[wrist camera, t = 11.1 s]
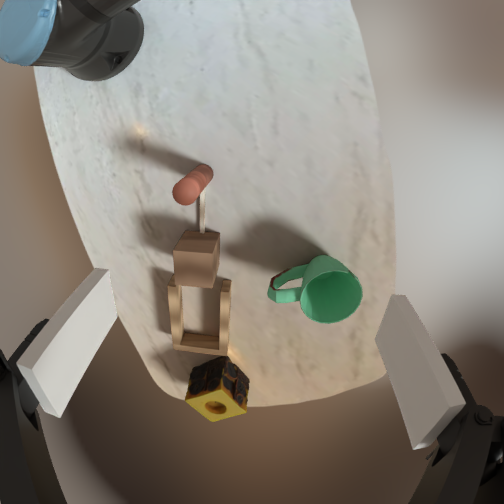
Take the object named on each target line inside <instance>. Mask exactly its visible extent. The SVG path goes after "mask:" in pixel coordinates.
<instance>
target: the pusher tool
mask: <svg viewBox="0 0 504 504" xmlns="http://www.w3.org/2000/svg"><path fill="white" fill-rule="evenodd" d="M212 178H213V170H212V168H211V167H210V166H208V165H206V164H201V165H198V166H197V167H196V168H195V169H193V170H192V171H191V172H190V173H188V174H187V175H186V176H185V177H184V178H182V179H181V180H180V181H179V182H178V183H176V184H175V186H174V187H173V191H172V193H173V197H174V199H175V201H176V202H177V203H179V204H181V205H190V204H192V203H193V202H194V201H195V200H196V199H197V197H198V196H199V195H200V231H185V232H184V234H183V235H182V237H181V239H180V240H179V242H178V243H177V245H176V247H175V248H174V250H173V259H174V275H175V285H182V286H192V287H203V288H213V285H214V281H215V278H216V274H217V271H218V267H219V256H220V233H214V232H205V187H206V186H207V185H208V183H209V182H210V181H211V180H212Z"/></svg>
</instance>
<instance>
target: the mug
mask: <svg viewBox="0 0 504 504" xmlns="http://www.w3.org/2000/svg"><path fill="white" fill-rule="evenodd" d="M302 277H303V281H302V287H297V288H290V289H278V288H279V287H280V286H282V285H283V284H285V283H286V282H288V281H290V280H294V279H298V278H302ZM268 297H269V298H270V299H271V300H273V301H274V302H276V303H288V302H295V301H300V304H301V309H302V310H303V312H304V314H305V315H306V316H307V317H309V318H310V319H311V320H313V321H316V322H319V323H327V324H330V323H335V322H339V321H342V320H344V319H346V318H348V317H349V316H350V315H352V314H353V313H354V312H355V311H356V309H357V308H358V307H359V305H360V303H361V300H362V297H363V294H362V286H361V284H360V282H359V280H358V278H357V277H356V276H355V275H354V274H353V273H352V272H351V271H350V270H349V269H348V268H347V267H345V266H344V265H343V264H342V263H341V262H339V261H338V260H336V259H334V258H332V257H329V256H327V255H320V256H317V257H315V258H314V259H312V260H311V262H310V263H309V264H305V265H301V266H297V267H293V268H289V269H286V270H285V271H283V272H281V273H280V274H278V275H276V276H274V277H273V278H271V281H270V285H269V289H268Z"/></svg>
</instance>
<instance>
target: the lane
mask: <svg viewBox="0 0 504 504" xmlns="http://www.w3.org/2000/svg"><path fill="white" fill-rule="evenodd" d="M231 282H232V281H230V280H223V284H222V288H221V293H220V337H217V336H208V335H200V334H191V333H184V323H183V308H182V290H181V285H175V275H173V276H172V278H171V280H170V282H169V284H168V286H167V289H168V301H169V312H170V323H171V332H172V341H173V349H174V350H181V351H188V352H196V353H204V354H212V355H221V356H227V351H228V344H229V324H230V302H231Z"/></svg>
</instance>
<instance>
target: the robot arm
mask: <svg viewBox="0 0 504 504" xmlns="http://www.w3.org/2000/svg"><path fill="white" fill-rule="evenodd" d="M138 1H140V0H5V2H4V4H3V6H2V8H1V10H0V58H1V59H2V60H4V61H6V62H8V63H13V64H19V65H21V66H48V67H63V68H65V69H66V70H67V71H69V72H70V73H71V74H72V75H73V76H75V77H77V78H79V79H82V80H86V81H102V80H106V79H109V78H111V77H113V76H115V75H117V74H118V73H120V72H121V71H123V70H124V69H125V68H126V67H127V66H128V65H129V64H130V63H131V62H132V60H133V59H134V58H135V56H136V54H137V53H138V51H139V49H140V47H141V44H142V41H143V36H144V24H143V20H142V18H141V16H140V14H139V13H138V11H137V10H136V9H134V8H133V7H132V5H134V4H135V3H137V2H138ZM117 317H118V316H117V311H116V306H115V301H114V296H113V290H112V285H111V279H110V273H109V269H101V268H95V269H94V270H93V271H92V272H91V273H90V274H89V275H88V276H87V277H86V279H85V280H84V281H83V282H82V283H81V284H80V285H79V286H78V287H77V289H76V290H75V291H74V292H73V293H72V294H71V295H70V297H69V298H68V299H67V300H66V301H65V302H64V303H63V305H62V306H61V307H60V308H59V309H58V311H57V312H56V313H55V314H54V315H53V317H52V318H51V319H50V320H49V319H44V320H43V321H41V322H40V323H38V324H37V325H36V326H35V327H34V328H33V329H32V331H31V332H30V334H29V335H28V336H27V337H26V338H25V341H23V342H22V343H21V344H20V346H19V347H18V348H17V349H16V351H15V352H14V353H13V355H12V356H11V357H10V358H9V360H8V361H7V360H6V358H5V356H4V354H3V352H2V350H1V349H0V501H1V504H67V502H66V500H65V497H64V495H63V492H62V490H61V487H60V485H59V482H58V479H57V476H56V473H55V470H54V467H53V464H52V462H51V458H50V455H49V452H48V448H47V445H46V441H45V437H44V434H43V430H42V426H41V422H40V417H39V414H38V411H37V409H36V408H37V406H38V404H39V403H40V405H41V406H42V408H43V409H44V411H45V412H47V413H49V414H52V415H54V416H56V417H59V418H60V417H61V415H62V413H63V411H64V409H65V407H66V406H67V403H68V402H69V400H70V398H71V396H72V394H73V392H74V391H75V389H76V387H77V385H78V383H79V381H80V380H81V378H82V376H83V374H84V372H85V370H86V369H87V367H88V365H89V364H90V362H91V360H92V358H93V357H94V355H95V353H96V351H97V350H98V348H99V346H100V345H101V343H102V341H103V340H104V338H105V336H106V335H107V333H108V331H109V330H110V328H111V326H112V325H113V323H114V322H115V320H116V318H117ZM375 341H376V344H377V346H378V349H379V352H380V354H381V357H382V359H383V362H384V365H385V367H386V370H387V373H388V376H389V378H390V381H391V384H392V387H393V390H394V392H395V395H396V398H397V401H398V404H399V407H400V410H401V413H402V416H403V419H404V422H405V425H406V428H407V432H408V435H409V438H410V441H411V445H412V448H413V450H414V449H418V448H423V447H428V446H430V445H431V444H432V443H433V442H434V440H435V439H436V438H437V440H438V443H439V445H438V446H437V447H436V448H435V449H434V450H433V451H432V452H431V453H430V454H429V455H428V456H427V457H426V459H427V460H428V459H429V458H430V457H431V456H432V458H431V460H430V462H429V464H428V466H427V468H426V471H425V473H424V475H423V477H422V479H421V481H420V483H419V485H418V486H417V488H416V490H415V492H414V494H413V496H412V498H411V500H410V502H409V503H408V504H504V417H503V416H494V415H493V413H492V412H491V411H490V410H489V409H488V408H487V407H485V406H482V405H477V404H476V402H475V400H474V398H473V396H472V394H471V392H470V390H469V388H468V387H467V385H466V383H465V381H464V379H462V375H461V373H460V372H459V370H458V368H457V366H456V365H455V363H454V361H453V360H452V359H451V358H450V357H449V356H447V354H440V352H439V351H438V349H437V347H436V345H435V343H434V342H433V340H432V338H431V337H430V335H429V333H428V332H427V330H426V328H425V326H424V325H423V323H422V322H421V320H420V319H419V316H418V315H417V313H416V312H415V310H414V308H413V307H412V305H411V304H410V302H409V301H408V299H407V297H406V296H405V295H391V297H390V300H389V303H388V306H387V309H386V311H385V314H384V317H383V320H382V322H381V325H380V327H379V330H378V332H377V335H376V337H375ZM502 456H503V462H502V463H500V457H502Z"/></svg>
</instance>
